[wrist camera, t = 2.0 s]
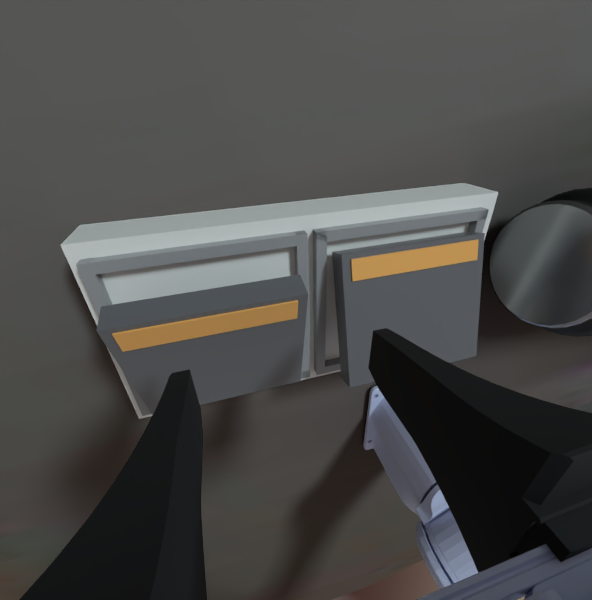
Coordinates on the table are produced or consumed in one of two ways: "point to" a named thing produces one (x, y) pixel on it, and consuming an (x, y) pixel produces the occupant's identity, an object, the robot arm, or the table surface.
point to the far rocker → (408, 298)
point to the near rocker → (211, 338)
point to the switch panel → (263, 252)
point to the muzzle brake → (547, 264)
